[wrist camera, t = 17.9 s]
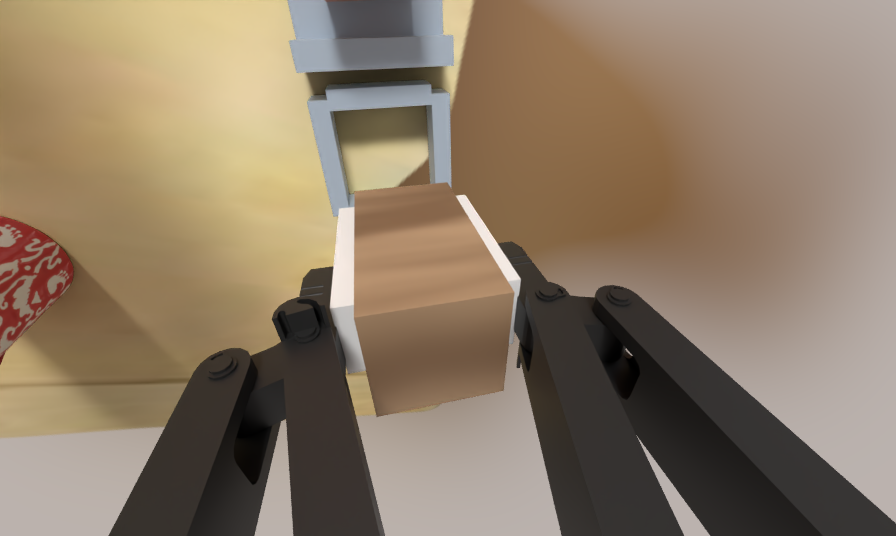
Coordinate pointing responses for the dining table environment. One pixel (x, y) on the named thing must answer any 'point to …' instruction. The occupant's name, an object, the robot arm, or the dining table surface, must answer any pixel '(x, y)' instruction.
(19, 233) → the mug
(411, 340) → the brown wooden block
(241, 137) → the dining table surface
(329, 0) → the tall salmon pink prism
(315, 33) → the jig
